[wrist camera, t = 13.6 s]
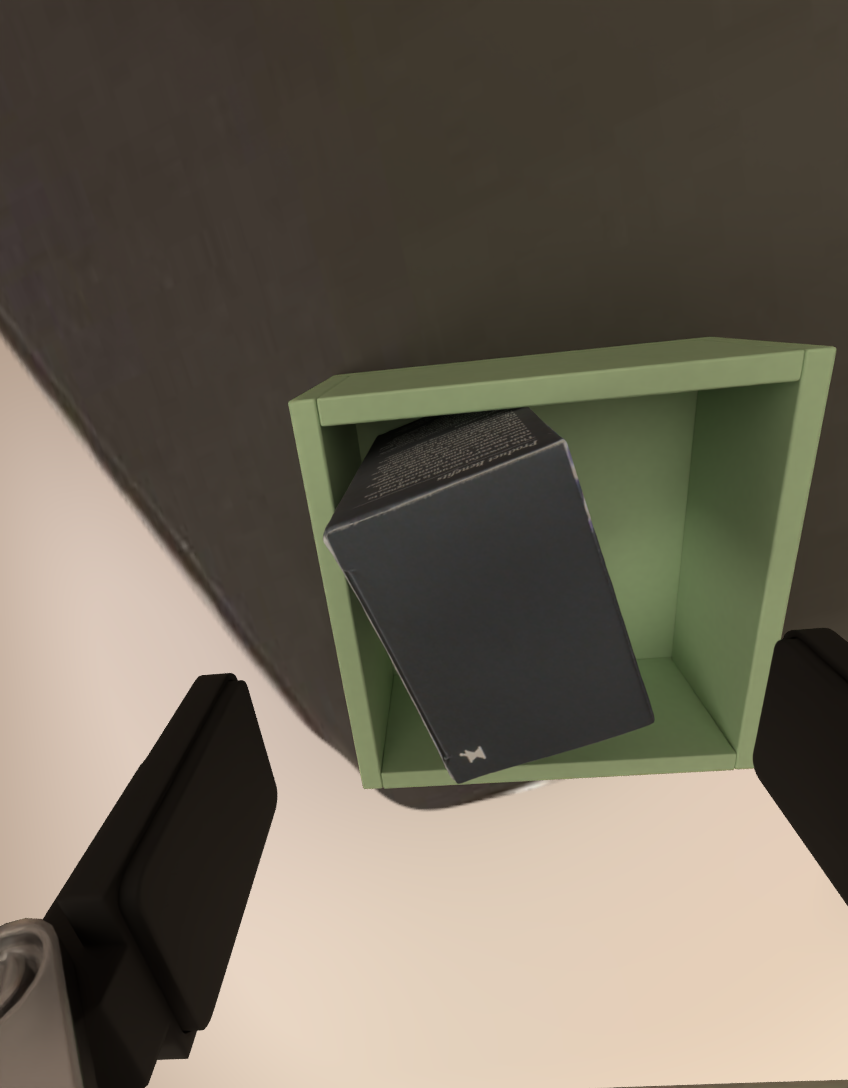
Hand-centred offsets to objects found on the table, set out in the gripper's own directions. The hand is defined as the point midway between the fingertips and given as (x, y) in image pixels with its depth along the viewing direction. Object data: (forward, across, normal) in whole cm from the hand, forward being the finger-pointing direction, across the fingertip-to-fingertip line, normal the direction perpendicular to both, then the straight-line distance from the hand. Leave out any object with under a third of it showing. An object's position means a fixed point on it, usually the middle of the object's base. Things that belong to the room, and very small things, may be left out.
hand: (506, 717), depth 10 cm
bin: (+14, -2, +2) cm, 15 cm away
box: (+14, 0, 0) cm, 14 cm away
